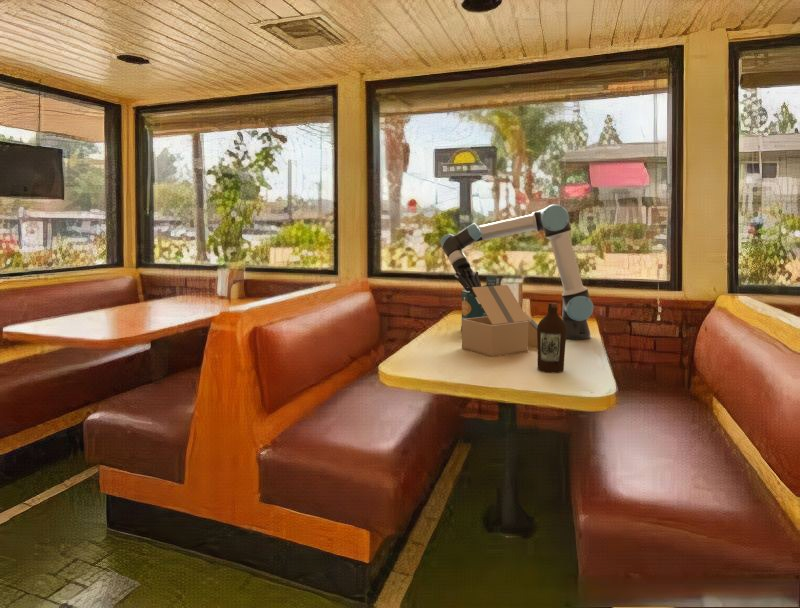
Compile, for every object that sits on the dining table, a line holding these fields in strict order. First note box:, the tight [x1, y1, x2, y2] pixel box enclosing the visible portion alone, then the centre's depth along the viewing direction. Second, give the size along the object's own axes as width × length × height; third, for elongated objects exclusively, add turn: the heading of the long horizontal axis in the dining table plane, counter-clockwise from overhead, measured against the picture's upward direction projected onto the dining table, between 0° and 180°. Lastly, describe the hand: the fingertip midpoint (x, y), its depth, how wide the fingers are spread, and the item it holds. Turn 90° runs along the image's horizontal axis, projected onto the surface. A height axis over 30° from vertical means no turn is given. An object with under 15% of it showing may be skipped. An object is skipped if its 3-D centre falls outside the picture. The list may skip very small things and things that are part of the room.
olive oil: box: [536, 302, 567, 373], centre depth 205 cm, size 11×11×25 cm
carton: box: [461, 316, 529, 357], centre depth 240 cm, size 20×20×13 cm
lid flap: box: [472, 284, 528, 325], centre depth 235 cm, size 20×20×1 cm
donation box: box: [460, 275, 502, 332], centre depth 282 cm, size 16×16×28 cm
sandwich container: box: [523, 311, 539, 348], centre depth 249 cm, size 9×15×15 cm, turn 71°
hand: (481, 302), depth 245 cm, fingers closed
